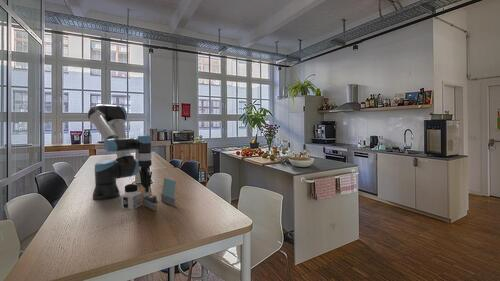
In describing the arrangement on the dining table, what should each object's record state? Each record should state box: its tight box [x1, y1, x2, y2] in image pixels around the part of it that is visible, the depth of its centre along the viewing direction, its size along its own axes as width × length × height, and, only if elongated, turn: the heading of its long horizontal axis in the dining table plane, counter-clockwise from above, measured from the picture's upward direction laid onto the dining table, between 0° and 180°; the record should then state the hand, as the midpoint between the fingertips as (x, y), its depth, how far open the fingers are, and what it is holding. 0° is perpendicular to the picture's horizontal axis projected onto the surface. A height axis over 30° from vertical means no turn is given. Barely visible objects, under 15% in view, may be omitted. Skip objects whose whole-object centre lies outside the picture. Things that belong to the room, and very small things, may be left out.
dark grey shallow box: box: [143, 193, 176, 212], centre depth 141 cm, size 14×12×5 cm
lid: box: [161, 177, 177, 199], centre depth 146 cm, size 12×11×1 cm
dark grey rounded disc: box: [143, 194, 158, 204], centre depth 149 cm, size 7×7×3 cm
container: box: [120, 183, 143, 210], centre depth 139 cm, size 8×8×13 cm
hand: (146, 196), depth 152 cm, fingers closed
